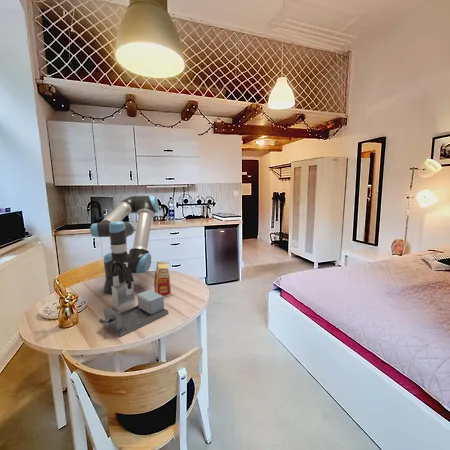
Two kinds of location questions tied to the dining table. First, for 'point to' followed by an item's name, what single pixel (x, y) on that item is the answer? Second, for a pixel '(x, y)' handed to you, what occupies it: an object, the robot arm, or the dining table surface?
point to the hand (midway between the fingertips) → (122, 291)
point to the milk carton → (162, 279)
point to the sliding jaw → (150, 302)
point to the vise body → (128, 319)
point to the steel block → (122, 296)
